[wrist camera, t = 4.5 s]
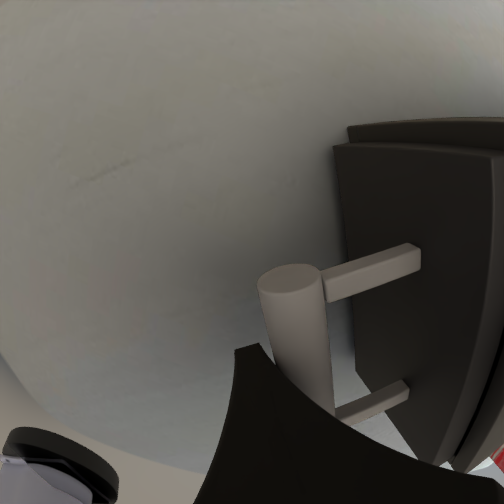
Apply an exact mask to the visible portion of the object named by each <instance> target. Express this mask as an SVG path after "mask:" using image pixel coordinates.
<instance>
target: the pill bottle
mask: <svg viewBox="0 0 504 504" xmlns="http://www.w3.org/2000/svg"><path fill="white" fill-rule="evenodd" d="M489 457H490V458H491V459H492V460H493V461H494V462H495V464H496V465H497V466H498V467H499V468H500V469H501V471H502V472H503V473H504V444H503V445H502V446H500V447H499V448H498V449H497V450H496V451H495V452H493V453H492V454H491V455H490V456H489Z"/></svg>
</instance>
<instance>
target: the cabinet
mask: <svg viewBox="0 0 504 504" xmlns="http://www.w3.org/2000/svg"><path fill="white" fill-rule="evenodd" d="M347 129H348V135H349V140H350V143H354V142H411V143H431V144H446V145H458V146H469V147H478V148H487V149H495V150H502V151H504V117H457V118H432V119H416V120H403V121H391V122H381V123H372V124H363V125H355V126H348V127H347ZM503 444H504V345H503V348H502V352H501V355H500V358H499V361H498V364H497V367H496V370H495V373H494V375H493V378H492V381H491V383H490V386H489V389H488V391H487V394H486V396H485V398H484V401H483V403H482V405H481V408H480V410H479V412H478V414H477V417H476V419H475V421H473V419H471V421H470V423H469V425H468V428H467V430H466V432H465V434H464V436H463V438H462V440H461V442H460V444H459V446H458V448H457V449H456V451H455V453H454V455H453V457H452V458H451V459H449V460H448V462H449V464H452V465H451V467H452V468H453V470H454V471H457V472H461V473H466V474H467V473H468V472H469V471H471V470H472V469H473V468H475V467H476V466H477V465H479V464H480V463H481V462H482V461H484V460H485V459H486V458H487V457H489V456H490V455H491V454H492V453H493V452H495V451H496V450H497V449H498V448H499V447H500V446H502V445H503Z"/></svg>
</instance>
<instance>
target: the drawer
mask: <svg viewBox="0 0 504 504" xmlns="http://www.w3.org/2000/svg"><path fill="white" fill-rule="evenodd" d="M333 152H334V157H335V163H336V169H337V175H338V181H339V187H340V194H341V200H342V207H343V215H344V222H345V230H346V238H347V247H348V257H349V262H347V263H344V264H340V265H337V266H334V267H331V268H328V269H324V270H321V271H319V270H318V268H316V267H314V266H312V265H309V264H288V265H283V266H279V267H276V268H274V269H271V270H269V271H267V272H266V273H264V274H263V275H262V276H261V277H260V278H259V279H258V281H257V290H258V294H259V298H260V302H261V307H262V311H263V315H264V319H265V323H266V327H267V331H268V336H269V340H270V344H271V348H272V352H273V356H274V360H275V364H276V366H277V367H278V369H279V370H280V371H281V372H282V373H283V374H284V375H285V376H286V377H287V378H288V379H289V380H290V381H291V382H292V383H293V384H294V385H296V386H297V387H298V388H299V389H300V390H301V391H302V392H303V393H304V394H306V395H307V396H308V397H309V398H310V399H311V400H313V401H314V402H315V403H317V404H318V405H319V406H320V407H322V408H323V409H324V410H326V411H327V412H328V413H330V414H331V415H333V416H334V417H335V418H337V419H338V420H340V421H341V422H343V423H345V424H346V425H348V426H351V425H354V424H356V423H359V422H361V421H363V420H365V419H368V418H370V417H372V416H374V415H377V414H379V413H381V412H383V411H385V413H386V414H387V416H388V417H389V418H390V420H391V421H392V423H393V424H394V426H395V427H396V428H397V430H398V431H399V433H400V434H401V435H402V437H403V438H404V440H405V441H406V443H407V444H408V445H409V447H410V448H411V450H412V451H413V452H414V454H415V455H416V457H417V458H418V460H420V461H423V462H426V463H429V464H432V465H435V466H440V465H442V464H443V463H445V462H446V461H448V460H449V459H451V458H452V457H453V455H454V453H455V451H456V449H457V448H458V446H459V444H460V442H461V440H462V438H463V436H464V434H465V432H466V430H467V428H468V425H469V423H470V421H471V419H473V421H475V419H476V417H477V414H478V412H479V410H480V408H481V405H482V403H483V401H484V398H485V396H486V394H487V391H488V389H489V386H490V383H491V381H492V378H493V375H494V373H495V370H496V367H497V364H498V361H499V358H500V355H501V352H502V348H503V345H504V151H502V150H495V149H487V148H478V147H469V146H458V145H446V144H431V143H411V142H354V143H347V144H341V145H335V146H333ZM351 295H352V302H353V318H354V337H355V369H356V372H357V374H358V375H359V376H360V378H361V379H362V381H363V382H364V383H365V385H366V386H367V388H368V389H369V390H370V392H371V394H369V395H366V396H364V397H362V398H359V399H357V400H355V401H352V402H350V403H347V404H345V405H342V406H340V407H337V408H335V404H334V390H333V378H332V366H331V355H330V345H329V336H328V326H327V318H326V309H325V301H324V299H325V300H326V302H327V303H331V302H334V301H337V300H340V299H343V298H346V297H349V296H351Z"/></svg>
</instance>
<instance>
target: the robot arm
mask: <svg viewBox="0 0 504 504" xmlns="http://www.w3.org/2000/svg"><path fill="white" fill-rule="evenodd" d="M234 355H235V367H234V377H233V385H232V391H231V396H230V401H229V407H228V411H227V415H226V419H225V422H224V426H223V430H222V433H221V437H220V440H219V443H218V446H217V449H216V452H215V455H214V458H213V460H212V463H211V465H210V468H209V471H208V473H207V475H206V478H205V480H204V482H203V484H202V486H201V488H200V491H199V493H198V495H197V497H196V499H195V501H194V503H193V504H504V488H503V487H502V486H501V485H500V484H499V483H498V482H497V481H495V480H494V479H492V478H487V477H482V476H476V475H471V474H466V473H461V472H457V471H453V470H449V469H445V468H442V467H439V466H435V465H432V464H429V463H426V462H423V461H420V460H417V459H415V458H412V457H410V456H407V455H405V454H403V453H400V452H398V451H396V450H393V449H391V448H389V447H387V446H384V445H382V444H380V443H378V442H376V441H374V440H372V439H370V438H368V437H367V436H365V435H363V434H361V433H359V432H358V431H356V430H354V429H353V428H351V427H349V426H348V425H346V424H345V423H343V422H341V421H340V420H338V419H337V418H335V417H334V416H333V415H331V414H330V413H328V412H327V411H326V410H324V409H323V408H322V407H320V406H319V405H318V404H317V403H315V402H314V401H313V400H311V399H310V398H309V397H308V396H307V395H306V394H304V393H303V392H302V391H301V390H300V389H299V388H298V387H297V386H296V385H294V384H293V383H292V382H291V381H290V380H289V379H288V378H287V377H286V376H285V375H284V374H283V373H282V372H281V371H280V370H279V369H278V367H277V366H276V365H275V364H274V363H273V362H272V361H271V359H270V358H269V357H268V355H267V354H266V353H265V351H264V350H263V348H262V346H261V345H260V343H256V344H253V345H249V346H246V347H242V348H239V349H235V353H234ZM0 461H1V462H2V463H3V465H2V468H1V471H0V504H91V503H94V504H110V499H108V498H107V497H106V496H105V495H103V494H102V493H101V492H100V491H99V490H97V489H96V488H95V487H94V486H93V485H91V484H90V483H89V482H88V481H87V480H86V479H85V478H83V477H82V476H81V475H80V474H79V473H78V472H77V471H76V470H75V469H74V468H73V467H72V466H71V465H69V464H68V463H67V462H66V461H65V460H62V459H44V458H29V457H17V456H8V455H0Z"/></svg>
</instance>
